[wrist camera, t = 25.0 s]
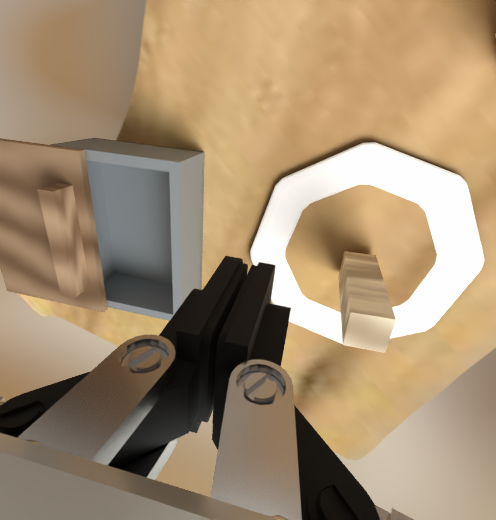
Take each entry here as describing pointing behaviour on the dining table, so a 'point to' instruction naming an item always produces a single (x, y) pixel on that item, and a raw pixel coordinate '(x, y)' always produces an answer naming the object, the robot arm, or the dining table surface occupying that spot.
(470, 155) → the dining table surface
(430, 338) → the dining table surface
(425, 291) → the plate
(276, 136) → the dining table surface
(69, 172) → the lid
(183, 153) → the toolbox
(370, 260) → the rectangular block
